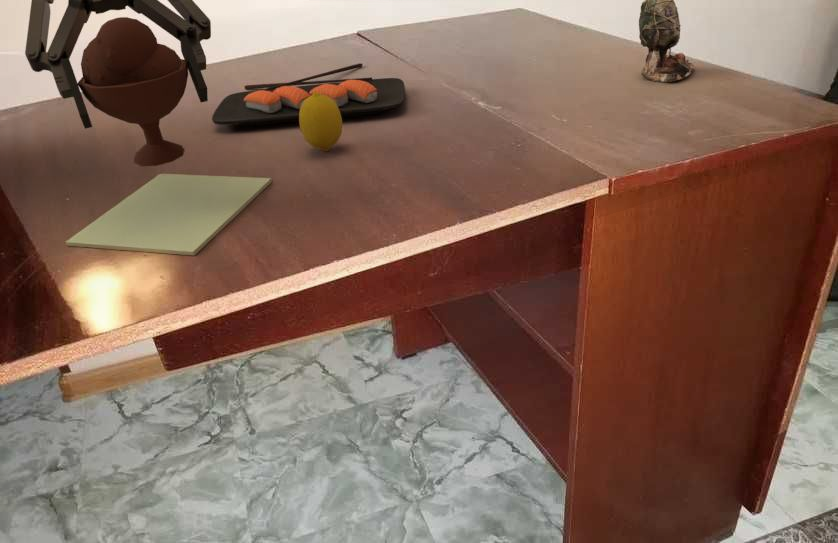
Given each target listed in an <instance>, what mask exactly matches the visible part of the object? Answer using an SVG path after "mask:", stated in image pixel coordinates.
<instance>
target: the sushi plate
mask: <svg viewBox="0 0 838 543" xmlns="http://www.w3.org/2000/svg"><path fill="white" fill-rule="evenodd" d="M362 67H363V63H359V62H358V63H356V64H351V65H348V66H344V67H340V68H337V69H333V70H330V71H325V72H323V73H319V74H315V75H312V76H308V77H304V78H300V79H297V80H293V81H289V82H276V83H261V84H260V83H259V84H258V83H257V84H246V85H244V87H243V88H244V89H245V90H247V91H240V92H235V93H231V94H229V95H227V96H225V97H224V98H223V99H222V100H221V102H220V103H219V104H218V106H217V107H216V109H215V110H214V112H213V114H212V116H211V121H212V123H213V124H215V125H238V126H243V127H244V126H260V125H271V124H279V123H280V124H281V123H292V122H299V112H300V108H301V105H302V103H303V102H304V101H305V100H306V99H307V98H308V97H310V96H311V95H312V94H313V93H314V92H319V93H320V94H323V95H326V96H328V97H330V98H331V99H332V100H333V101H334V102H335V103H336V104H337V106H338V108H339V111H340V114H341V118H345V117H346V118H347V117H357V116H364V115H365V116H366V115H374V114H378V113H382V112H384V111H385V110H390V109H395V108H398V107H401V106H402V105H403V104H404V103H405V100H406V86H405V82H404V81H403V80H402V79H401V78H398V77H386V78H385V77H382V78H373V77H357V78H343V79H342V78H341V79H328V80H327V79H326V80H325V79H324V80H315V79H318V78H322V77H327V76H331V75H335V74H340V73H343V72H347V71H351V70H355V69H359V68H362ZM310 80H311V81H310Z"/></svg>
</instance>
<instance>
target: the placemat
mask: <svg viewBox="0 0 838 543" xmlns="http://www.w3.org/2000/svg"><path fill="white" fill-rule="evenodd" d="M272 182H273V179H272V178H271V177H253V176H252V177H251V176H250V177H249V176H227V175H206V174H205V175H201V174H177V173H159V174H158V175H156V176H155V177H153V178H152V179H150V180H149V181H148V182H147V183H145V184H144V185H143V186H141V187H139V188H138V189H137V190H135V191H134V192H132V193H131V194H130V195H128V196H127V197H125V198H124V199H123V200H121V201H120V202H119V203H117V204H116V205H114V206H113V207H112V208H110V209H109V210H108V211H106V212H104V213H103V214H102V215H101V216H99V217H98V218H96V219H95V220H93V221H92V222H91V223H89V224H88V225H87V226H85V227H84V228H83V229H82V230H80V231H78V232H77V233H76V234H74V235H73V236H71V237H70V238H69V239H67V240H66V241H65V245H66V246H67V247H78V248H91V249H103V250H104V249H105V250H115V251H117V250H118V251H129V252H141V253H144V252H145V253H153V254H154V253H155V254H167V255H179V256H180V255H182V256H193V257H194V256H196V255H197V254H198V253H199V252H200V251H201V250H202V249H203V248H204V247H206V245H207V244H209V243H210V242H211V240H212V239H214V238H215V237H216V236H217V235H218V234H219V233H220V232H221V231H222V230H223V229H224V228H225V227H226V226H228V224H230V222H231V221H233V220H234V219H235V218H236V217H237V216H238V215H239V214H240V213H241V212H242V211H243V210H244V209H245V208H247V206H248V205H249V204H251V202H253V200H255V198H257V197H258V196H259V195H260V194H261V193H262V192H263V191H264V190H265V189H266V188H267V187H268V186H269V185H270V184H271V183H272Z"/></svg>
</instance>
